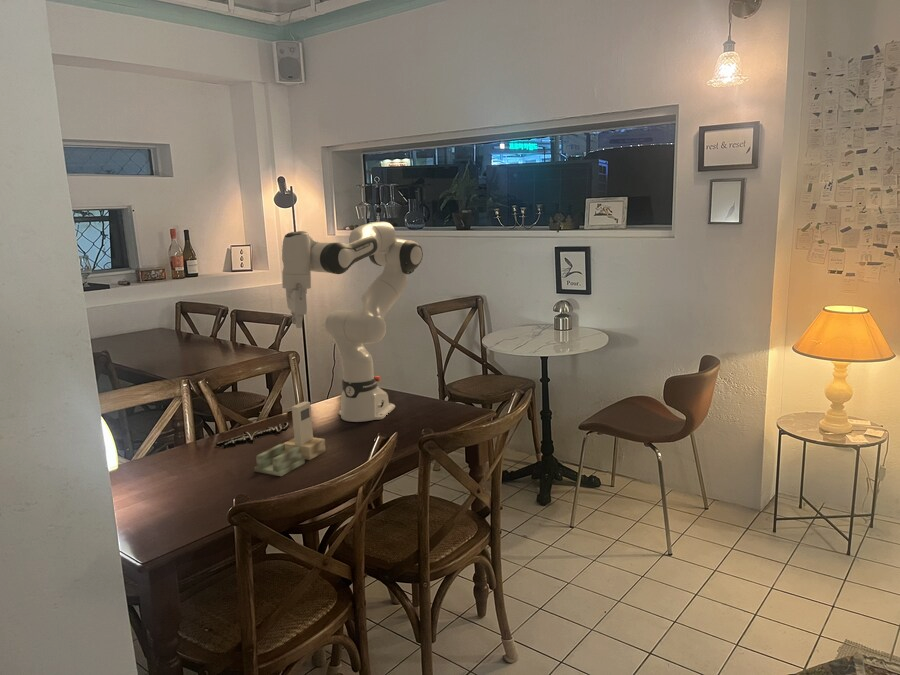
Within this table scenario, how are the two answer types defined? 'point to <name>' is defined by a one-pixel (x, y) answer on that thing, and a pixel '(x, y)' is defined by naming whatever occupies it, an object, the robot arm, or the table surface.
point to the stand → (308, 447)
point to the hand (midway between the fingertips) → (297, 325)
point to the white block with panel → (302, 423)
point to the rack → (279, 460)
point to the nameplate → (248, 436)
